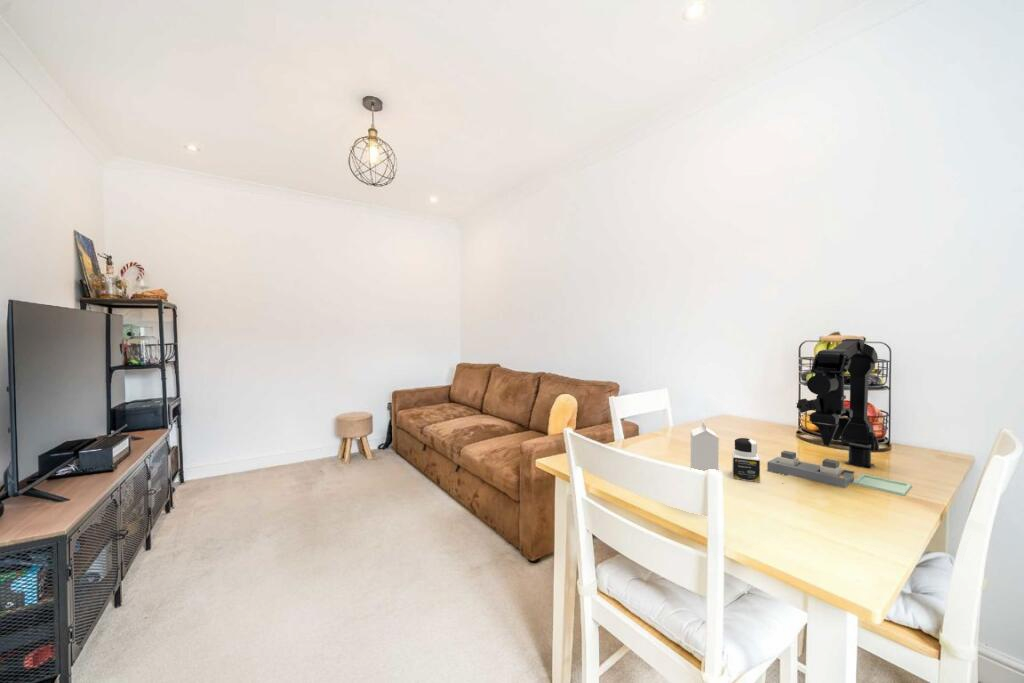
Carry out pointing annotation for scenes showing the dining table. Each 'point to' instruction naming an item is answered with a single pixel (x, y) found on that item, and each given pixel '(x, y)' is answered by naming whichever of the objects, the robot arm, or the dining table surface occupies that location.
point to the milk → (704, 448)
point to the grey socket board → (811, 473)
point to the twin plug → (788, 458)
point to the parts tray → (882, 484)
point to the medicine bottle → (746, 460)
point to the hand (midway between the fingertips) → (831, 442)
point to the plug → (831, 467)
